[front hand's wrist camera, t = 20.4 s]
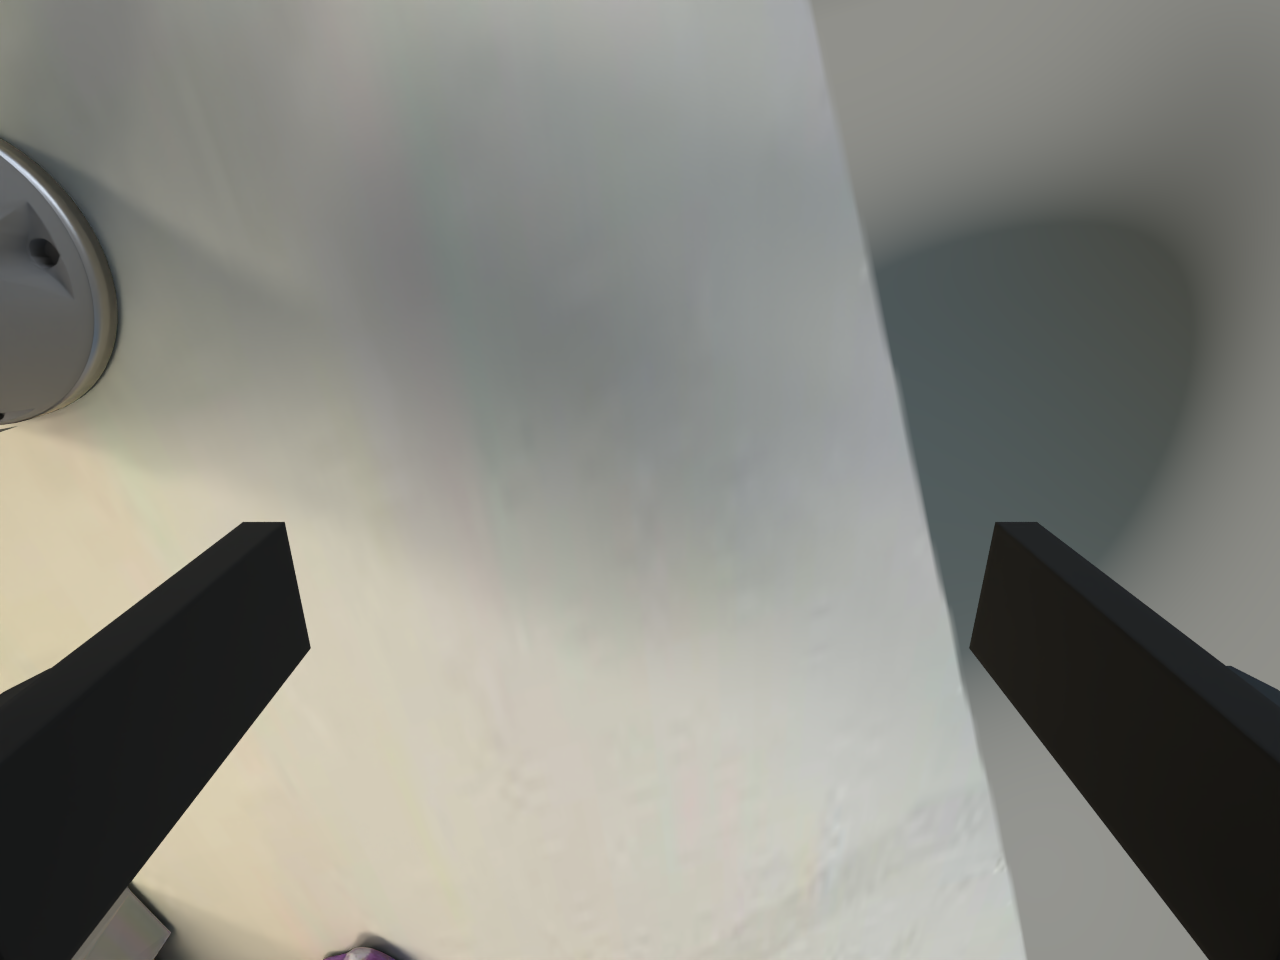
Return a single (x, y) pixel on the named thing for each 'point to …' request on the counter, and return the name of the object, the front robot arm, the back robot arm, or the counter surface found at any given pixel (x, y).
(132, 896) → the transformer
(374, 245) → the counter surface
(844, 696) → the counter surface
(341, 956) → the figurine
